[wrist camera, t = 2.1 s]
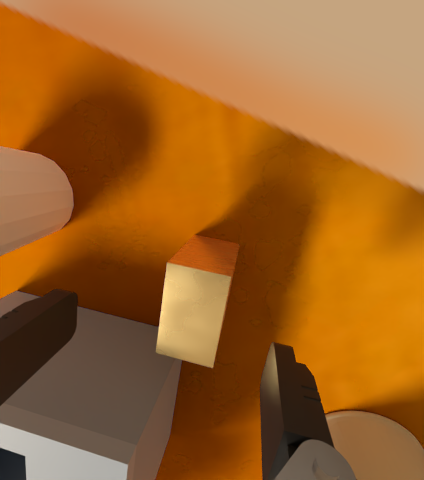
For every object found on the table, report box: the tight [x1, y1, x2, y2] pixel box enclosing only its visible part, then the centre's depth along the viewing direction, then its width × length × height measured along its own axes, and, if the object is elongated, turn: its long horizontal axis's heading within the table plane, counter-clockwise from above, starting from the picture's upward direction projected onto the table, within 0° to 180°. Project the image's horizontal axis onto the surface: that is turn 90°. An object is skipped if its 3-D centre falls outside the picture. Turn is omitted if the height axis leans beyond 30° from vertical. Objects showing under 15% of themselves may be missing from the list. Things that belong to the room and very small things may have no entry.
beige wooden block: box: [156, 235, 240, 368], centre depth 15 cm, size 3×5×6 cm, turn 170°
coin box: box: [0, 291, 182, 480], centre depth 17 cm, size 14×10×9 cm
